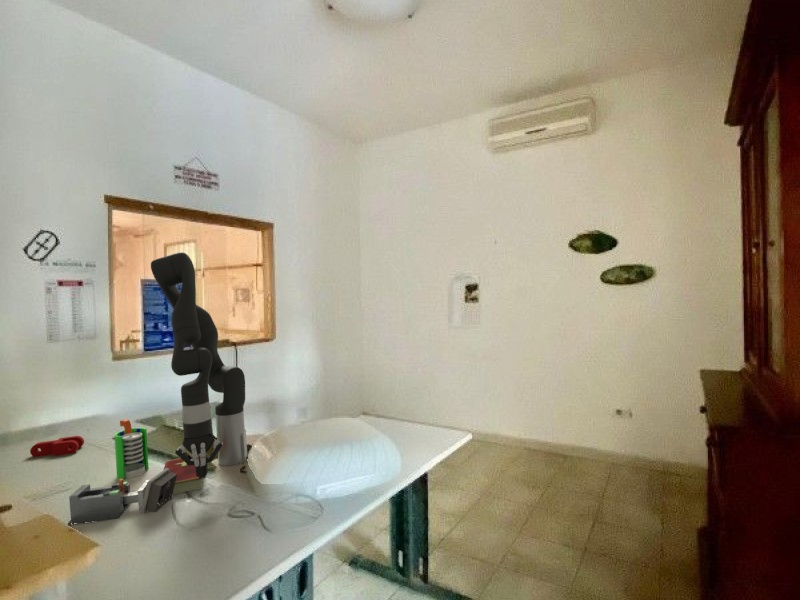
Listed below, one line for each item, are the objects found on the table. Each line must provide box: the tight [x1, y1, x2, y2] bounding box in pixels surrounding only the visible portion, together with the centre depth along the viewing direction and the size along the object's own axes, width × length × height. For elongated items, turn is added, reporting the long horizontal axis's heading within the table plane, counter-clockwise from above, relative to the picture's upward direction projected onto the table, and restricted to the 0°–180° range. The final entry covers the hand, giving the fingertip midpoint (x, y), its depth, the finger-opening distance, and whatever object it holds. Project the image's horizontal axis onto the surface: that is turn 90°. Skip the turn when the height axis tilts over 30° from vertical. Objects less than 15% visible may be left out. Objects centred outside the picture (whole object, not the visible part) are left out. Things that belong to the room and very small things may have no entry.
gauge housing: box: [67, 481, 132, 527], centre depth 120 cm, size 12×10×7 cm
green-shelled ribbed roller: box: [114, 418, 149, 481], centre depth 146 cm, size 9×8×18 cm
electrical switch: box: [140, 468, 177, 514], centre depth 122 cm, size 9×5×9 cm, turn 177°
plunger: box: [118, 479, 150, 512], centre depth 121 cm, size 13×7×8 cm, turn 103°
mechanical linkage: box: [29, 435, 85, 458], centre depth 169 cm, size 16×7×5 cm, turn 108°
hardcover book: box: [163, 454, 204, 495], centre depth 139 cm, size 12×21×4 cm, turn 23°
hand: (202, 477), depth 125 cm, fingers closed
